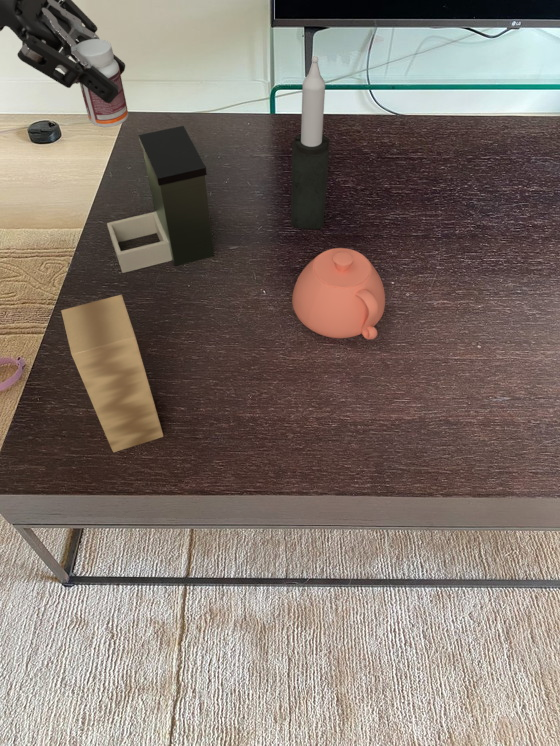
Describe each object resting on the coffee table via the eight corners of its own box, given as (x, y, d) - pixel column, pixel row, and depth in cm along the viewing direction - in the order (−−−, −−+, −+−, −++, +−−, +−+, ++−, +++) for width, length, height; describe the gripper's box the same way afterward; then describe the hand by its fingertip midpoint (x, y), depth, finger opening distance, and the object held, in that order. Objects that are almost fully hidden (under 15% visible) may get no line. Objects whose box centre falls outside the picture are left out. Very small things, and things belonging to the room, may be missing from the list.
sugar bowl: (347, 271, 90) (354, 213, 82) (408, 333, 82) (422, 277, 74) (275, 303, 86) (274, 246, 78) (332, 371, 79) (338, 317, 70)
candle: (293, 206, 99) (296, 45, 79) (325, 209, 98) (336, 47, 78) (290, 227, 95) (292, 65, 76) (323, 230, 95) (334, 67, 75)
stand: (113, 452, 71) (71, 354, 57) (102, 412, 75) (60, 310, 60) (163, 436, 73) (135, 336, 58) (151, 397, 76) (121, 294, 62)
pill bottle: (136, 114, 76) (123, 43, 69) (110, 132, 73) (94, 60, 67) (107, 103, 77) (91, 33, 71) (80, 120, 75) (61, 49, 68)
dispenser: (173, 267, 90) (157, 178, 78) (155, 224, 96) (138, 134, 84) (215, 256, 92) (206, 167, 79) (195, 214, 97) (183, 125, 85)
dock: (122, 273, 89) (117, 255, 87) (111, 241, 94) (106, 222, 91) (172, 260, 91) (168, 242, 88) (159, 229, 95) (155, 211, 92)
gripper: (-30, -35, 56) (129, 94, 66) (9, -89, 65) (144, 32, 74) (-64, 27, 60) (90, 140, 70) (-23, -31, 69) (109, 76, 78)
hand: (117, 84), depth 72 cm, fingers closed on pill bottle, 4 cm apart
